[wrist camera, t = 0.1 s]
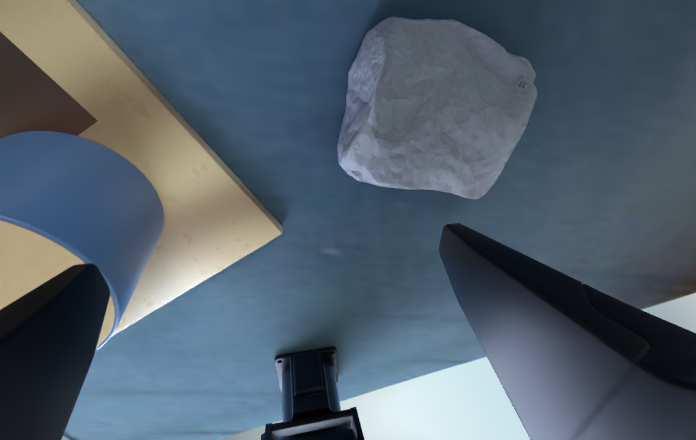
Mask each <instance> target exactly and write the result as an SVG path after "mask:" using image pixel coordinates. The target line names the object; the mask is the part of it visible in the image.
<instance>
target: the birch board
mask: <svg viewBox="0 0 696 440" xmlns="http://www.w3.org/2000/svg"><path fill="white" fill-rule="evenodd" d="M28 131H53V132H62V133H67V134H72V135H76V136H79V137H83V138H86V139H89V140H92V141H94V142H97V143H99V144H101V145H104V146H105V147H107V148H109V149H111V150H113V151H115V152H117V153H118V154H120V155H121V156H123V157H124V158H126V159H127V160H128V161H130V162H131V163H132V164H133V165H134V166H136V167H137V168H138V169H139V170H140V171H141V172H142V173H143V174H144V175H145V176H146V178H147V179H148V180H149V181H150V183H151V184H152V186H153V187H154V189H155V190H156V192H157V194H158V196H159V199H160V201H161V204H162V208H163V214H164V225H163V229H162V233H161V235H160V238H159V240H158V242H157V244H156V246H155V248H154V250H153V252H152V255H151V257H150V259H149V261H148V263H147V265H146V267H145V269H144V271H143V274H142V276H141V278H140V280H139V282H138V284H137V286H136V288H135V290H134V293H133V295H132V297H131V299H130V301H129V303H128V305H127V307H126V310H125V312H124V314H123V316H122V318H121V320H120V322H119V324H118V326H117V329H116V331H115V332H114V334H113V335H115V334H116V333H118V332H120V331H121V330H123V329H125V328H126V327H128V326H130V325H131V324H133V323H135V322H136V321H138V320H140V319H141V318H143V317H145V316H146V315H148V314H150V313H151V312H153V311H155V310H156V309H158V308H160V307H161V306H163V305H165V304H166V303H168V302H170V301H171V300H173V299H175V298H176V297H178V296H180V295H181V294H183V293H185V292H186V291H188V290H190V289H191V288H193V287H195V286H196V285H198V284H200V283H201V282H203V281H205V280H206V279H208V278H210V277H211V276H213V275H215V274H216V273H218V272H220V271H221V270H223V269H225V268H226V267H228V266H230V265H231V264H233V263H235V262H236V261H238V260H240V259H241V258H243V257H245V256H246V255H248V254H250V253H251V252H253V251H255V250H256V249H258V248H260V247H261V246H263V245H265V244H266V243H268V242H270V241H271V240H273V239H275V238H276V237H278V236H280V235H281V234H282V233H283V229H282V226H281V224H280V223H279V222H278V221H277V220H276V219H275V218H274V217H273V216H272V215H271V213H270V212H269V211H268V210H267V209H266V208H265V207H264V206H263V205H262V204H261V203H260V201H259V200H258V199H257V198H256V197H255V196H254V195H253V194H252V193H251V192H250V190H249V189H248V188H247V187H246V186H245V185H244V184H243V183H242V182H241V181H240V179H239V178H238V177H237V176H236V175H235V174H234V173H233V172H232V171H231V170H230V169H229V167H228V166H227V165H226V164H225V163H224V162H223V161H222V160H221V159H220V158H219V156H218V155H217V154H216V153H215V152H214V151H213V150H212V149H211V148H210V147H209V146H208V144H207V143H206V142H205V141H204V140H203V139H202V138H201V137H200V136H199V135H198V133H197V132H196V131H195V130H194V129H193V128H192V127H191V126H190V125H189V124H188V123H187V121H186V120H185V119H184V118H183V117H182V116H181V115H180V114H179V113H178V112H177V110H176V109H175V108H174V107H173V106H172V105H171V104H170V103H169V102H168V101H167V99H166V98H165V97H164V96H163V95H162V94H161V93H160V92H159V91H158V90H157V89H156V87H155V86H154V85H153V84H152V83H151V82H150V81H149V80H148V79H147V78H146V76H145V75H144V74H143V73H142V72H141V71H140V70H139V69H138V68H137V67H136V66H135V64H134V63H133V62H132V61H131V60H130V59H129V58H128V57H127V56H126V55H125V53H124V52H123V51H122V50H121V49H120V48H119V47H118V46H117V45H116V44H115V42H114V41H113V40H112V39H111V38H110V37H109V36H108V35H107V34H106V33H105V32H104V30H103V29H102V28H101V27H100V26H99V25H98V24H97V23H96V22H95V21H94V19H93V18H92V17H91V16H90V15H89V14H88V13H87V12H86V11H85V10H84V9H83V7H82V6H81V5H80V4H79V3H78V2H77V1H76V0H0V139H1V138H3V137H6V136H8V135H12V134H16V133H20V132H28ZM113 335H112V336H113Z"/></svg>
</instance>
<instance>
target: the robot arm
mask: <svg viewBox="0 0 696 440" xmlns="http://www.w3.org/2000/svg"><path fill="white" fill-rule="evenodd" d="M439 253H440V257H441V259H442V262H443V264H444V267H445V269H446V272H447V275H448V277H449V280H450V282H451V285H452V288H453V290H454V293H455V295H456V297H457V300H458V302H459V304H460V306H461V308H462V310H463V312H464V314H465V315H466V317H467V319H468V321H469V323H470V325H471V327H472V329H473V331H474V333H475V335H476V336H477V338H478V340H479V342H480V344H481V346H482V348H483V350H484V352H485V354H486V355H487V357H488V359H489V361H490V363H491V365H492V367H493V369H494V371H495V373H496V374H497V376H498V378H499V380H500V382H501V384H502V386H503V388H504V390H505V392H506V394H507V396H508V397H509V399H510V401H511V403H512V405H513V407H514V409H515V411H516V413H517V415H518V416H519V418H520V420H521V422H522V424H523V426H524V428H525V430H526V432H527V434H528V435H529V437H530V439H531V440H696V333H693V332H691V331H689V330H687V329H684V328H682V327H679V326H677V325H675V324H672V323H670V322H668V321H665V320H663V319H660V318H658V317H656V316H654V315H651V314H649V313H647V312H644V311H642V310H640V309H637V308H635V307H633V306H631V305H628V304H626V303H624V302H622V301H619V300H617V299H615V298H613V297H611V296H609V295H607V294H605V293H602V292H600V291H598V290H596V289H594V288H592V287H590V286H588V285H586V284H583V285H582V283H581V282H580V281H578V280H575V279H573V278H571V277H569V276H567V275H565V274H563V273H561V272H559V271H557V270H555V269H553V268H551V267H549V266H547V265H544V264H542V263H540V262H538V261H536V260H534V259H532V258H530V257H528V256H526V255H524V254H522V253H520V252H518V251H516V250H514V249H511V248H509V247H507V246H505V245H503V244H501V243H499V242H497V241H495V240H493V239H491V238H489V237H487V236H485V235H483V234H480V233H478V232H476V231H474V230H472V229H470V228H468V227H466V226H464V225H462V224H460V223H454V224H446V225H445V226H444V228H443V231H442V236H441V241H440V246H439ZM109 298H110V288H109V286H108V284H107V282H106V280H105V279H104V277H103V275H102V273H101V271H100V270H99V268H98V267H97V265H95V264H93V263H87V264H78V265H73V266H71V267H69V268H68V269H66V270H64V271H63V272H61V273H60V274H58V275H56V276H55V277H53V278H51V279H50V280H48V281H46V282H45V283H43V284H42V285H40V286H38V287H37V288H35V289H33V290H32V291H30V292H28V293H27V294H25V295H24V296H22V297H20V298H19V299H17V300H15V301H14V302H12V303H10V304H9V305H7V306H6V307H4V308H2V309H1V310H0V440H61V439H62V436H63V434H64V431H65V429H66V426H67V424H68V421H69V418H70V416H71V413H72V411H73V408H74V406H75V403H76V401H77V398H78V395H79V393H80V390H81V388H82V385H83V383H84V380H85V378H86V375H87V373H88V370H89V367H90V365H91V362H92V359H93V357H94V354H95V351H96V347H97V344H98V340H99V336H100V333H101V329H102V325H103V321H104V317H105V314H106V310H107V306H108V302H109ZM275 365H276V370H277V374H278V379H279V384H280V389H281V392H282V410H283V422H281V423H275V424H272V423H270V424H266V429H265V433H263V434H262V435H261V440H364V437H363V433H362V429H361V425H360V421H359V417H358V413H357V409H356V407H353V408H351V409H348V410H343V411H341V409H340V403H339V397H338V390H337V384H336V383H337V381H338V374H337V349H336V347H327V348H321V349H315V350H308V351H302V352H296V353H290V354H284V355H278V356H276V357H275Z"/></svg>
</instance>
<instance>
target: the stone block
mask: <svg viewBox="0 0 696 440" xmlns="http://www.w3.org/2000/svg"><path fill="white" fill-rule="evenodd" d="M535 78H536V73H535V71H534V70H533V68H532V66H531V63H530V61H528V60H527V59H525V58H523V57H521V56H518V55H513V54H510V53H508V52H507V51H506V50H505V49H504V48H503V47H502V46H501V45H500V44H498V43H497V42H495V41H494V40H493V39H491V38H489V37H488V36H486V35H485V34H483V33H481V32H479V31H477V30H475V29H473V28H470V27H468V26H466V25H465V24H462V23H460V22H458V21H456V20H453V19H445V20H435V19H427V18H426V19H420V20H412V19H405V18H403V17H390V18H385V19H384V20H383V21H381V22H380V23H379V24H376V26H375V27H373V28H372V29H371V30H369V31H368V32H367V34H366V36H365V37H364V39H363V41H362V45H361V47H360V49H359V51H358V54H357V56H356V58H355V60H354V62H353V64H352V66H351V68H350V70H349V73H348V90H347V102H346V109H345V115H344V117H343V121H342V127H341V131H340V135H339V140H338V145H337V150H338V160H339V165H340V166H341V167H342V168H343V169H344V170H345V171H346V172H347V174H348V175H351V176H352V177H354V178H355V179H356V180H358V181H362V182H365V183H370V184H373V185H377V186H382V187H390V188H399V189H413V190H416V189H430V190H438V191H442V192H447V193H453V194H456V195H458V196H461V197H464V198H468V199H478V198H480V197H482V196H484V195H485V194H486V193H487V191H488V190H489V189H490V187H491V186H492V185H493V184H494V183H495V182H496V180H497V178H498V176H499V175H500V173H501V172H502V170H503V168H504V165H505V164H506V162H507V161H508V159H509V157H510V155H511V154H512V152H513V150H514V148H515V146H516V145H517V143H518V141H519V140H520V137H521V136H522V134H523V132H524V130H525V128H526V126H527V123H528V120H529V117H530V114H531V112H532V109H533V107H534V103H535V100H536V97H537V93H538V91H537V89H536V87H535V86H534V84H533V83H534V80H535Z"/></svg>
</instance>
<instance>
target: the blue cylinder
mask: <svg viewBox="0 0 696 440" xmlns="http://www.w3.org/2000/svg"><path fill="white" fill-rule="evenodd" d="M163 225H164V214H163V208H162V204H161V201H160V199H159V196H158V194H157V192H156V190H155V189H154V187H153V186H152V184H151V183H150V181H149V180H148V179H147V178H146V176H145V175H144V174H143V173H142V172H141V171H140V170H139V169H138V168H137V167H136V166H134V165H133V164H132V163H131V162H130V161H128V160H127V159H126V158H124V157H123V156H121V155H120V154H118V153H117V152H115V151H113V150H111V149H109V148H107V147H105V146H104V145H101V144H99V143H97V142H94V141H92V140H89V139H86V138H83V137H79V136H76V135H72V134H67V133H62V132H53V131H28V132H20V133H16V134H12V135H8V136H6V137H3V138H1V139H0V310H1V309H2V308H4V307H6V306H7V305H9V304H10V303H12V302H14V301H15V300H17V299H19V298H20V297H22V296H24V295H25V294H27V293H28V292H30V291H32V290H33V289H35V288H37V287H38V286H40V285H42V284H43V283H45V282H46V281H48V280H50V279H51V278H53V277H55V276H56V275H58V274H60V273H61V272H63V271H64V270H66V269H68V268H69V267H71V266H73V265H78V264H87V263H93V264H95V265H97V267H98V268H99V270H100V271H101V273H102V275H103V277H104V279H105V280H106V282H107V284H108V286H109V288H110V298H109V302H108V306H107V310H106V314H105V317H104V321H103V325H102V329H101V333H100V336H99V340H98V344H97V347H96V350H97V349H99V348H100V347H102V346H103V345H104V344H105V343H106V342H107V341H108V340H109V339H110V338H111V336H112V335H113V334H114V332H115V331H116V329H117V326H118V324H119V322H120V320H121V318H122V316H123V314H124V312H125V310H126V307H127V305H128V303H129V301H130V299H131V297H132V295H133V293H134V290H135V288H136V286H137V284H138V282H139V280H140V278H141V276H142V274H143V271H144V269H145V267H146V265H147V263H148V261H149V259H150V257H151V255H152V252H153V250H154V248H155V246H156V244H157V242H158V240H159V238H160V235H161V233H162V229H163Z"/></svg>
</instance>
